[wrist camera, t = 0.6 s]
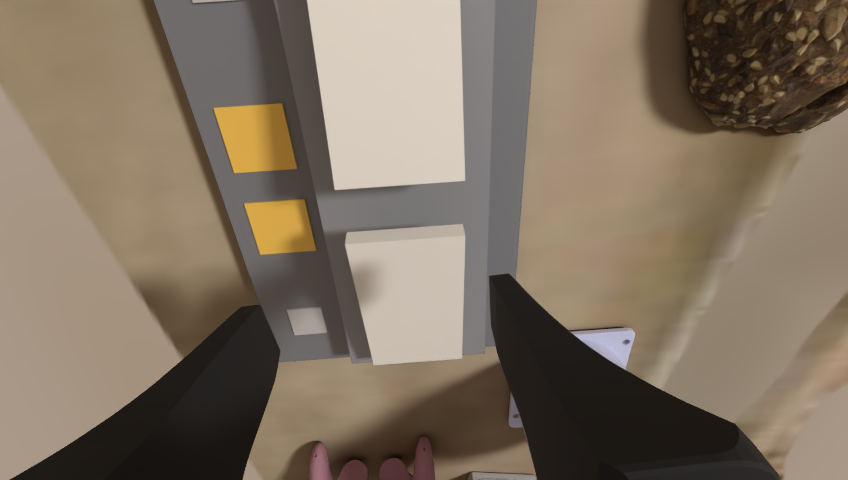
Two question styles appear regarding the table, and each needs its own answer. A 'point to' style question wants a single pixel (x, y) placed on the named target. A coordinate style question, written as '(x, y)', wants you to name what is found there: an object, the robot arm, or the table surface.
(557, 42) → the table surface
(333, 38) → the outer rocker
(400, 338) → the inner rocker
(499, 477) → the coffee box
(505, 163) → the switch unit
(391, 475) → the pink curved piece
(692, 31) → the bread roll
